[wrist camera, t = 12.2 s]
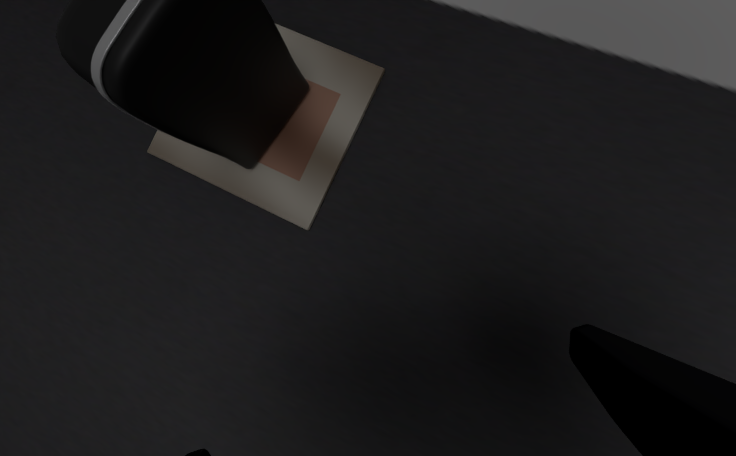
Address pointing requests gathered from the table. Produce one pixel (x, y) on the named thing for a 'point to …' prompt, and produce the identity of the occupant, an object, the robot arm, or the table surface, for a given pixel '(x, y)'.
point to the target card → (293, 136)
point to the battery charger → (188, 68)
